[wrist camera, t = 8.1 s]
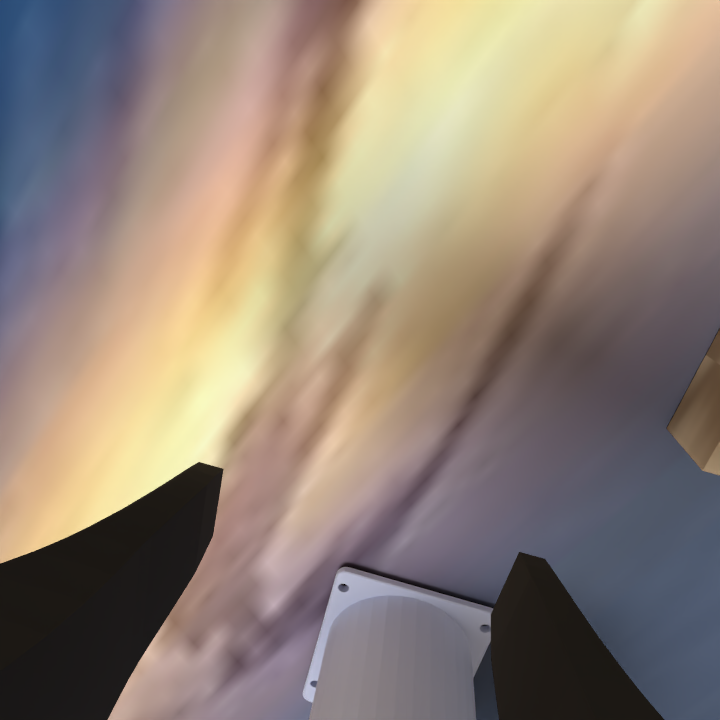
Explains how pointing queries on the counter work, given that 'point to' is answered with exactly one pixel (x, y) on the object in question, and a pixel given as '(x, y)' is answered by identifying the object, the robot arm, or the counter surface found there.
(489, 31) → the counter surface
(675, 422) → the socket block
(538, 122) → the counter surface
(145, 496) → the robot arm
